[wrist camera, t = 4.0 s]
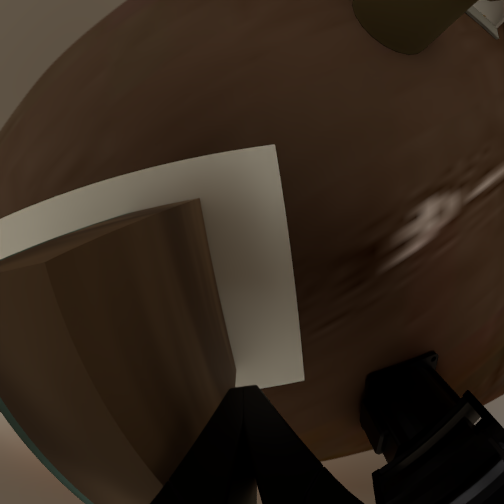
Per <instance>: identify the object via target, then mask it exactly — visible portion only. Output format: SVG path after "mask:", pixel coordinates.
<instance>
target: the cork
mask: <svg viewBox="0 0 504 504" xmlns="http://www.w3.org/2000/svg"><path fill="white" fill-rule="evenodd" d="M477 1H478V0H353V4H352V6H353V9H354V13H355V16H356V17H357V19H358V20H359V22H360V23H361V25H362V27H363V28H364V29H365V30H366V31H367V32H368V33H369V34H370V35H371V36H372V37H373V38H375V39H376V40H377V41H379V42H380V43H381V44H383V45H384V46H386V47H388V48H390V49H392V50H394V51H396V52H399V53H404V54H408V55H410V54H418V53H419V52H421V51H422V50H424V49H425V48H426V47H427V46H428V45H429V44H430V43H432V42H433V41H434V40H435V39H436V38H437V37H438V36H439V35H440V34H441V33H442V32H444V31H445V30H446V29H447V28H448V27H449V26H450V25H451V24H452V23H453V22H455V21H456V20H457V19H458V18H459V17H460V16H461V15H462V14H464V13H465V12H466V11H467V10H468V9H469V8H470V7H471V6H473V5H474V4H475V3H476V2H477ZM487 1H500V0H487Z"/></svg>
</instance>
